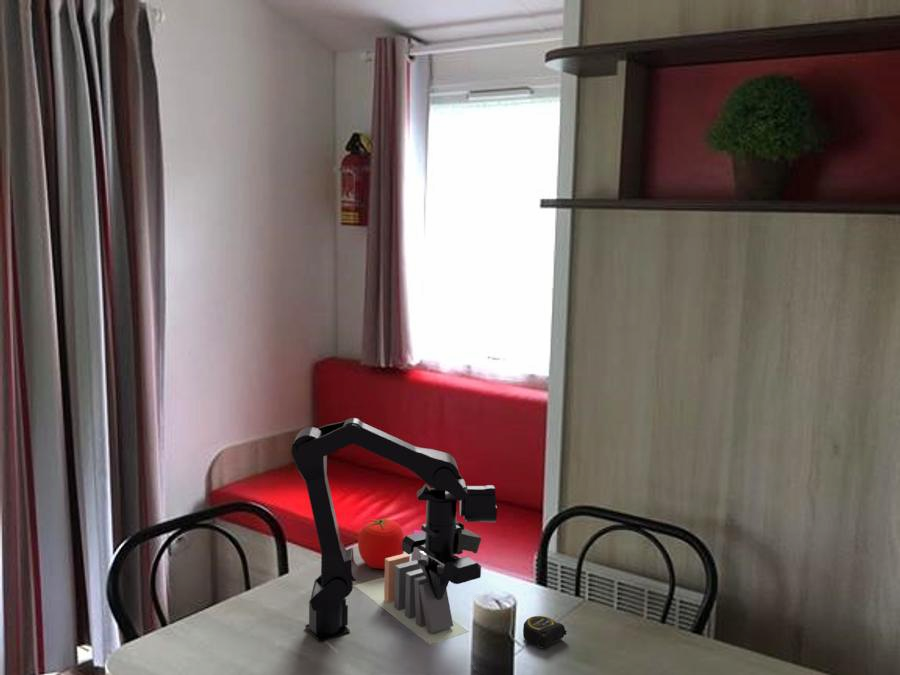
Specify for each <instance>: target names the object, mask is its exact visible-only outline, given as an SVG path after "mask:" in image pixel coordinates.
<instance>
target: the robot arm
mask: <svg viewBox="0 0 900 675" xmlns="http://www.w3.org/2000/svg"><path fill="white" fill-rule="evenodd" d="M351 445H355V446H357V447H359V448H361V449H363V450H366V451H368V452H370V453H373V454H374V455H376V456H379V457H381V458H384V459H385V460H388V461H390V462H392V463H394V464H396V465H399V466H401V467H403V468H405V469H408V470H409V471H410V472H412V473H413V474H415V476H417V477H418V478H419V479H420V480H422V481H423V482H424V485H423V487H421V488H420V489H419V490H418V489H417V491H416V495H417V496H416V497H417V498H416V499H417V500H418V501H426V511H425V512H426V514H425V515H426V516H425V520H426V521H425V523H424V524H421V528H420V531H424V532H420V533H415V534H414V533H412V534H408V535H404V539H403V540H402V550H403V551H404V553H406V554H407V555H412V552H413V551H414V547H417V548H419V549H420V550H421V551H420V554H421V560H419V561H418V564H419V565H420V567H421V569H422V571H423V573H424V575H425V577H426V579H427V581H428V583H429V585H430V587H431V590H432V592H433V594H434V596H435V598H436V599H437V600H440V599H442V598H443V595H444V593H445V590H446V589H447V588H448V585H449V583H452V584H454V585H459V584H463V583H467V582H471V581H473V580H477V579H481V577H482V566H481V565H480V564H479V563H478V562H476V561H475V560H473V559H472V558H470V557H468V556H463V557H459V556H457V555H462V554H463V551H467V552H472V553H473V554H477V553H478V551H479V548H480V544H481V542H482V539H483V537H482V536H481V535H478V534H477V533H474V532H473V531H471V530H469V529H467V528H465V524H464V523H462V522H460V521H457V512H458V511H457V509H458V508H457V507H458V501H459V516H460V517H463V520H465V522H466V523H496V521H497V518H498V507H497V499H496V498H497V497H496V488H495V485H492V484H491V485H490V484H487V485H467V484H466V481H465V479H464V478H463V477H462V475H461V474H460V473H459V469H458V468H459V467H458V464H457V462H456V459H455V458H454V457H453V455H451V454H450V453H448V452H444V451H440V450H436V449H433V448H425V447H419V446H415V445H413V444H410V443H409V442H407V441H404V440H402V439H399V438H398V437H396V436H394V435H391V434H389V433H387V432H384V431H382V430H380V429H377V427H373V426H372V425H369V424H366V423H365V422H363V421H361V420H360V419H359V418H356V417H351V418H348V419H346V420H342V421H340V422H334V423H329V424H326V425H323V426H320V427H313V426H309V427H305V428H303V429H301V430H300V431H299V432H298V433H297V435H296V437H295V439H294V441H293V443H292V446H291V451H290V452H291V457H292V459H293V461H294V464H295V466H296V468H297V471H298V472H299V474H300V475H301V477H302V479H303V480H304V482H305V486H306V489H307V493H308V498H309V503H310V507H311V512H312V516H313V521H314V525H315V530H316V534H317V538H318V543H319V548H320V552H321V561H320V562H321V564H320V565H321V566H320V568H321V570H320V575H319V576H318V577H317V578H315V579H314V582H313V586H312V590H311V595H310V599H309V601H308V608H309V609H308V624H307V623H306V624H304V625H305V626H304V628H305V630H307V632H308V633H309V634H310V635H312V636H313V637H314V638H315V640H317V641H318V642H324V641H327V640H328V641H329V640H331V639H334V638H337V637H340V636H344V635H347V634H350V632H351V631H350V628H348V627H347V626H348V624H349V605H348V604H347V597H349V595H350V594H352V593H351V592H352V591H353V588H354V587H353V586H354V582H356V580H357V579H356V578H357V572H358V565H357V562H356V561H355V558H354V548H353V547H351V548H349V549H346V548H345V546H344V544H343V542H342V538H341V534H340V529H339V525H338V521H337V516H336V511H335V507H334V503H333V502H334V501H333V498H332V492H331V489H330V488H331V487H330V485H329V484H330V483H329V479H328V474H327V466H328V463H327V461H328V456H329V455H331V454H333V453H335V452H337V451H339V450H341V449H343V448H345V447H348V446H351ZM431 487H432V488H431Z"/></svg>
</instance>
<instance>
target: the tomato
mask: <svg viewBox="0 0 900 675" xmlns="http://www.w3.org/2000/svg"><path fill="white" fill-rule="evenodd" d="M370 520H372V521H370V522H368V523H366V524H364V525H363V526H362V528H361V529H360V532H359V534H358V539H357V548H358V553H359V555H360V557H361V559H362V560H363V562H364V563H365V564H366V565H367V566H369V567H370V568H373V569H378V570H379V569H380V570H385V558H389V557H393V556H397V555H401V554H405V552H404V551H403V550H402V540H403V539H404V538H405V534H404V532H403V529H402V527H401V525H400V524H399V523H398V522H397V521H395V520H393V519H392V520H391V519H387V517H385V518H382V519H372V518H370Z"/></svg>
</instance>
